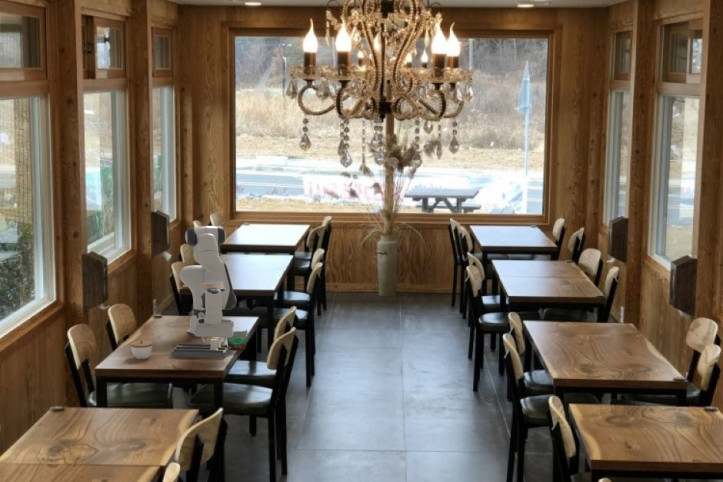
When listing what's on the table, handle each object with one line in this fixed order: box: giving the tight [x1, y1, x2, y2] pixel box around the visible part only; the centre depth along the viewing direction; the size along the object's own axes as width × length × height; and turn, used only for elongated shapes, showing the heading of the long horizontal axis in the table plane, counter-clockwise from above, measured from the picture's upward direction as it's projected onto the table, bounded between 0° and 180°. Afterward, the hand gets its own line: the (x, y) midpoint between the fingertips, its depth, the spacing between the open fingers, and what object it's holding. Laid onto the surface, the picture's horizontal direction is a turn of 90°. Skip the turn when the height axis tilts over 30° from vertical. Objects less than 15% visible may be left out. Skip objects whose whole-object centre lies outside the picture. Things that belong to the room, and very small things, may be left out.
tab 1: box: [210, 338, 218, 350], centre depth 559 cm, size 3×4×6 cm
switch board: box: [171, 343, 230, 359], centre depth 564 cm, size 13×28×4 cm, turn 87°
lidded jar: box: [130, 339, 153, 360], centre depth 555 cm, size 11×11×9 cm
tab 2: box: [212, 337, 221, 347], centre depth 566 cm, size 3×4×6 cm
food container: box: [226, 328, 249, 352], centre depth 575 cm, size 12×6×10 cm, turn 117°
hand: (214, 345), depth 559 cm, fingers open, 8 cm apart
